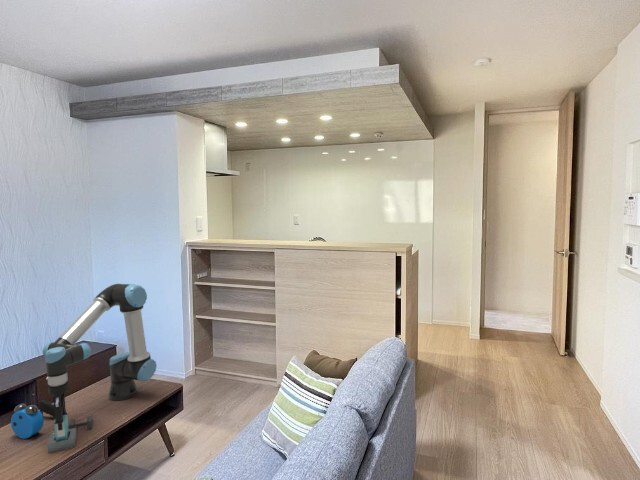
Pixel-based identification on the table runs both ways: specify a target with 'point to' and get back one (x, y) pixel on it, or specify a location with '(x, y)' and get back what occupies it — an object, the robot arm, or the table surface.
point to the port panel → (62, 441)
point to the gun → (47, 407)
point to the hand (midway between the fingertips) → (62, 433)
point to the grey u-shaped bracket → (88, 422)
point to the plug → (64, 428)
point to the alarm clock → (26, 421)
